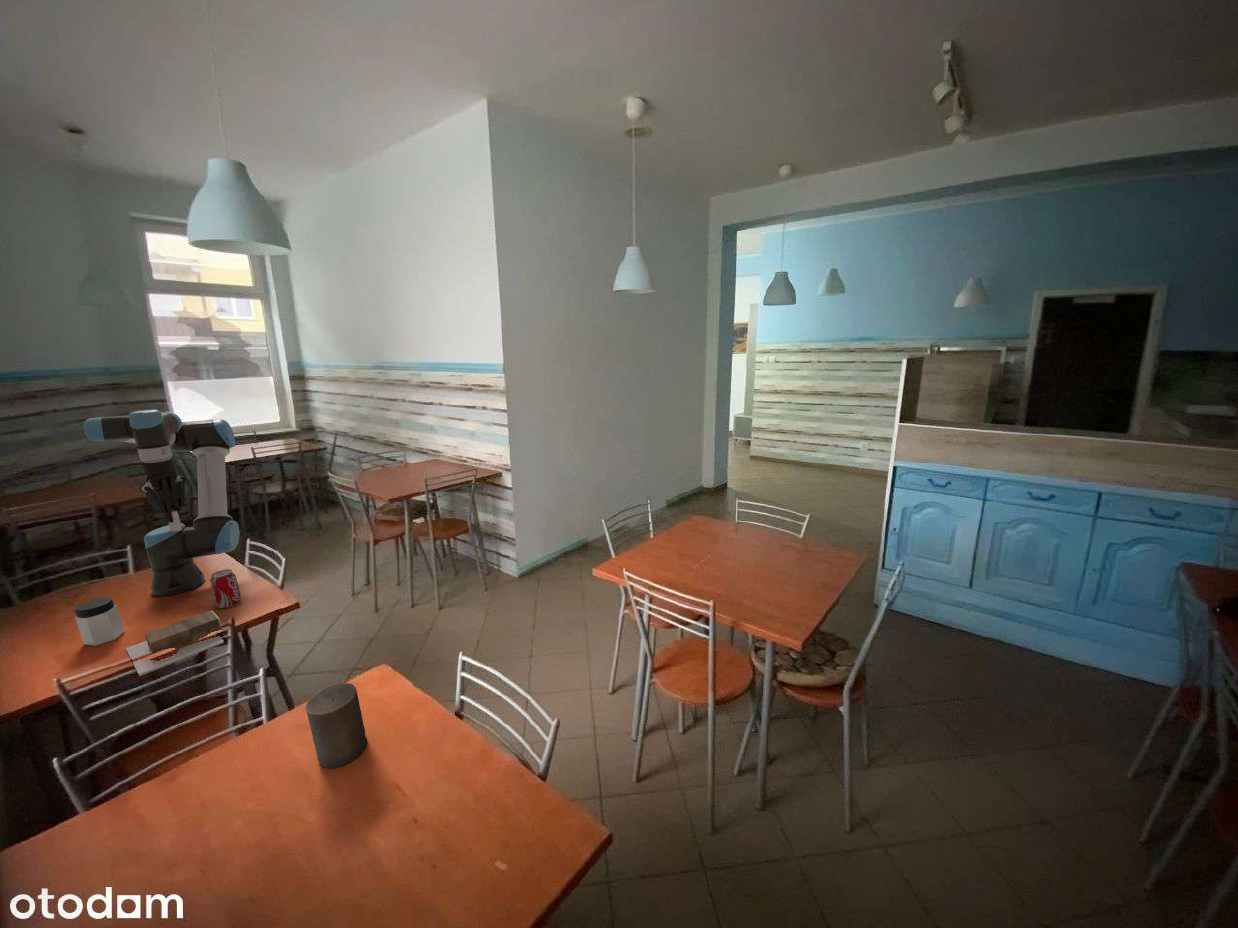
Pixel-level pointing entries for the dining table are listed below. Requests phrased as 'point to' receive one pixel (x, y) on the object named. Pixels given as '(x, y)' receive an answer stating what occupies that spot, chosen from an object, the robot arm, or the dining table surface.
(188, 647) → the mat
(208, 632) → the walnut block
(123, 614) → the dining table surface
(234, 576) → the soda can
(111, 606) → the jar
